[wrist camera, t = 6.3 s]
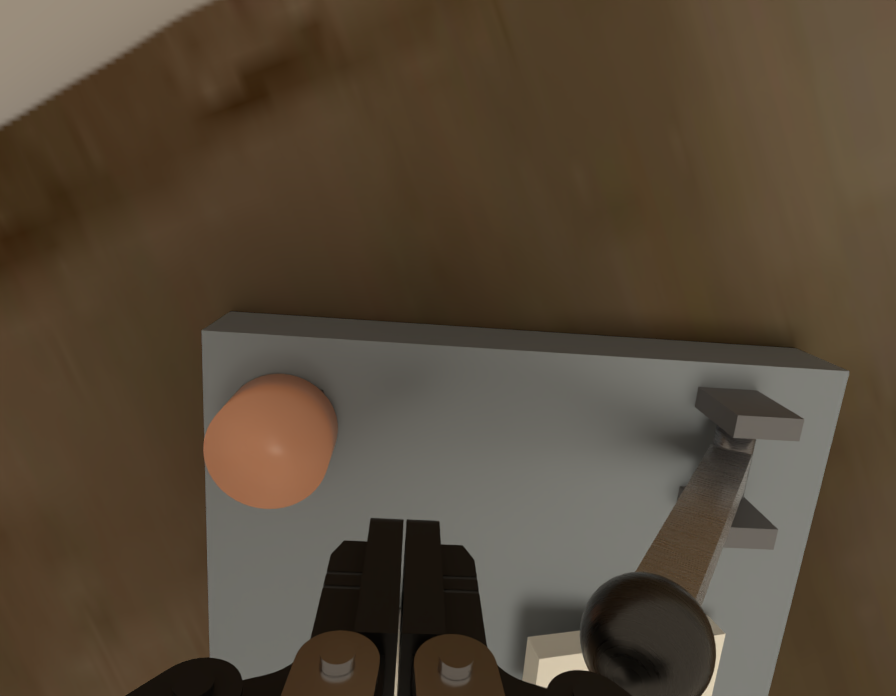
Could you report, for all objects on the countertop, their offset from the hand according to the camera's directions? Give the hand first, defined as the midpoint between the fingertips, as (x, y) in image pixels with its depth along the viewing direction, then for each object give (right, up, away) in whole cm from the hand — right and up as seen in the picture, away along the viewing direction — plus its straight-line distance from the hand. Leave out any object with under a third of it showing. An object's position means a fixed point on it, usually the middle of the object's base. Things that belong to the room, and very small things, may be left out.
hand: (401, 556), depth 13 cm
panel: (+3, -2, +11) cm, 12 cm away
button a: (-4, +2, +8) cm, 9 cm away
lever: (+10, +1, +7) cm, 12 cm away
